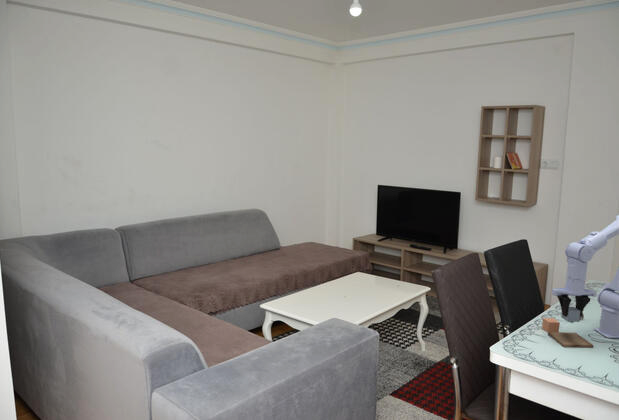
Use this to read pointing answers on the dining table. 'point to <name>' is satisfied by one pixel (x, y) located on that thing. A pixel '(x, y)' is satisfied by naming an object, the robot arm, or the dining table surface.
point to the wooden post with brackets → (581, 316)
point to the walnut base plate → (570, 340)
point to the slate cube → (572, 315)
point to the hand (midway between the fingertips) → (571, 315)
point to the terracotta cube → (550, 325)
